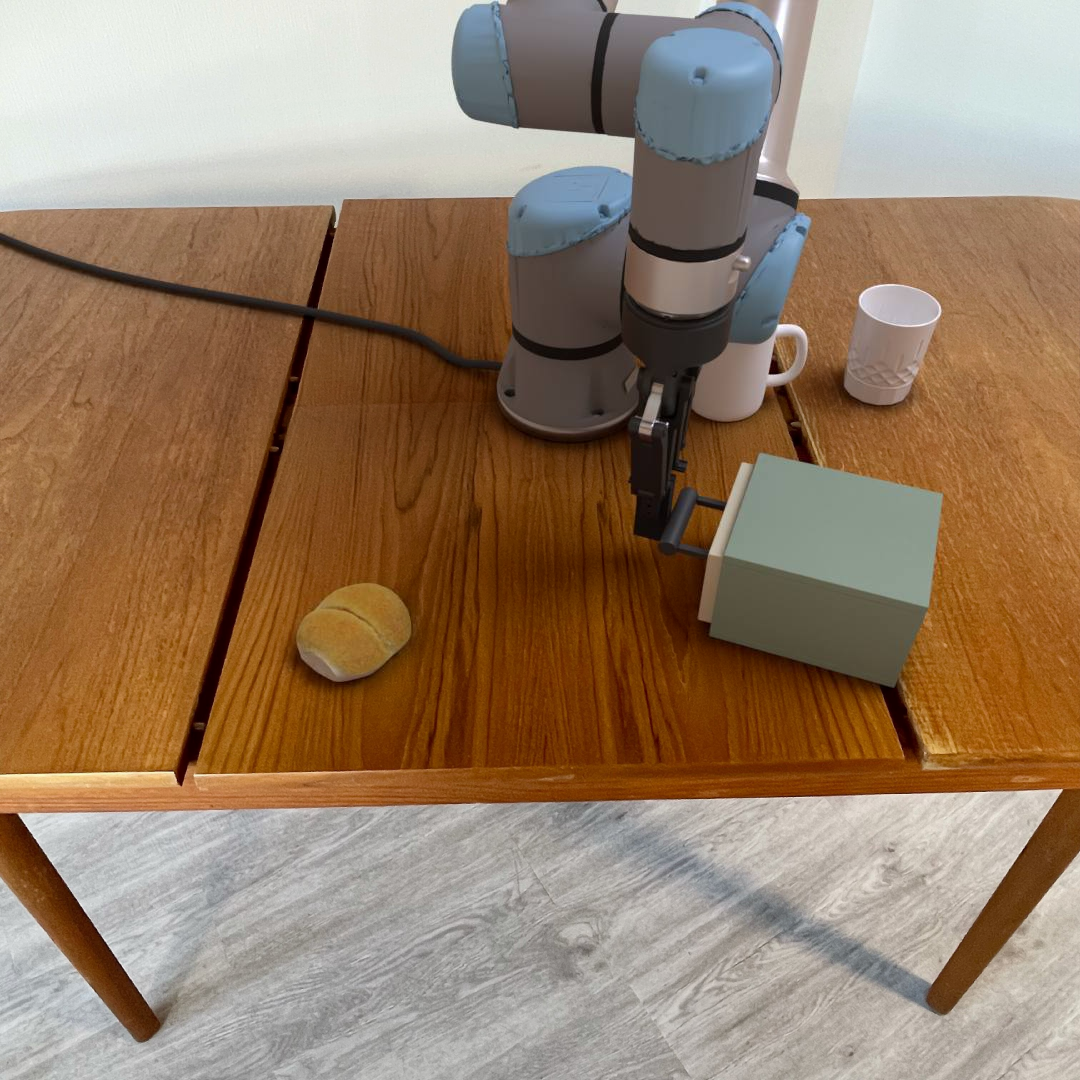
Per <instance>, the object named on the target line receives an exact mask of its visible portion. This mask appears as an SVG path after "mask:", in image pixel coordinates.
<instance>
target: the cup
mask: <svg viewBox="0 0 1080 1080" xmlns="http://www.w3.org/2000/svg"><path fill="white" fill-rule="evenodd" d="M781 338H794V339H795V340H794V341H795V342H796V353H795V357H794V360H793V363H792V365H791V366H790V368H789V369H788V370H786V371H784V372H783V373H778V374H769V372H770V368H771V363H772V357H773V352H774V348H775V347H774V346H775V342H776V339H781ZM808 343H809V342H808V336H807V334H806V332H805V330H804V329H802V328H801V327H800V326H799V325H796V324H792V323H791V324H790V323H785V324H778V325H777V328H776V330H775V332H774V334H773V335H772V336H771V337H770V338H769V339H768V340H767V341H765V342H763V343H761V344H756V345H750V344H740V343H729V342H728V344H727V346H726V348H725V350H724V351H723V352H722V354H721V355H719V356H718V357H717V358H716V359H714V360H713V361H711V362H709V363H707V364H704V365H702V369H701V372H700V374H699V376H698V379H697V382H696V389H695V395H694V397H693V402H692V407H691V411H693V412H695V414H697V415H699V416H701V417H703V418H705V419H708V420H711V421H716V422H726V423H728V422H731V423H732V422H737V421H741V420H745V419H748V418H750V417H751V416H753V415H754V414H755V413H757V412H758V410H759V409H760V407H762V404H763V401H764V398H765V393H766V389H767V388H775V387H781V386H785V385H786V384H789V383H791V382H792V381H794V380H795V379H797V377H798V376H799V375H800V374H801V372H802V370H803V369H804V367H805V364H806V361H807V357H808V350H809V344H808Z"/></svg>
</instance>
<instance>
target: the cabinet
mask: <svg viewBox="0 0 1080 1080" xmlns="http://www.w3.org/2000/svg"><path fill="white" fill-rule="evenodd" d="M754 465H755V466H754V469H753V472H752V474H751V477H750V480H749V483H748V486H747V489H746V492H745V495H744V498H743V500H742V503H741V506H740V509H739V512H738V515H737V518H736V521H735V523H734V526H733V529H732V532H731V535H730V538H729V541H728V544H727V547H726V549H725V552H724V555H723V562H722V566H721V572H720V577H719V583H718V588H717V594H716V599H715V605H714V610H713V616H712V622H711V623H710V628H709V633H708V636H709V637H711V638H716V639H719V640H722V641H726V642H730V643H732V644H736V645H740V646H744V647H747V648H750V649H754V650H757V651H761V652H764V653H768V654H772V655H776V656H779V657H782V658H786V659H790V660H792V661H793V660H794V661H796V662H800V663H804V664H808V665H811V666H814V667H818V668H821V669H825V670H829V671H832V672H836V673H840V674H843V675H847V676H850V677H854V678H857V679H861V680H864V681H868V682H871V683H875V684H878V685H882V686H886V687H889V688H895V686H896V684H897V683H898V682H897V681H898V680H899V677H900V675H901V672H902V670H903V667H904V666H905V663H906V661H907V659H908V656H909V654H910V652H911V649H912V647H913V645H914V643H915V640H916V638H917V636H918V633H919V631H920V629H921V627H922V624H923V622H924V620H925V617H926V614H927V612H928V611H929V608H930V601H931V592H932V585H933V577H934V569H935V561H936V555H937V547H938V546H937V545H938V538H939V532H940V531H939V529H940V521H941V514H942V507H943V498H944V494H943V493H942V492H937V491H933V490H928V489H923V488H920V487H916V486H910V485H906V484H903V483H897V482H893V481H888V480H884V479H880V478H875V477H870V476H866V475H862V474H858V473H852V472H848V471H844V470H839V469H835V468H830V467H826V466H821V465H817V464H813V463H808V462H804V461H798V460H795V459H790V458H786V457H783V456H782V457H781V456H777V455H772V454H769V453H764V452H758V454H757V457H756V459H755V464H754Z"/></svg>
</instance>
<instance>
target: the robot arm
mask: <svg viewBox="0 0 1080 1080" xmlns="http://www.w3.org/2000/svg"><path fill="white" fill-rule="evenodd" d="M618 3H619V0H506V3H505V4H503V3H499V1H498V0H493V1H492V2H489V3H473V4H472V5H471V6H469V7H467V8H465V9H464V10H463V11H462V12H461V14H460V16H459V18H458V19H457V23H456V26H455V29H454V33H453V39H452V46H451V56H450V57H451V60H450V63H451V64H450V66H451V67H450V68H451V69H450V70H451V79H452V80H451V81H452V86H453V90H454V94H455V97H456V98H455V99H456V101H457V104H458V106H459V108H460V109H461V112H463V113H464V114H465V115H466V116H467V117H468V118H470V119H471V120H474V121H478V122H483V123H487V124H493V125H499V126H505V127H511V128H513V129H516V130H520V129H529V130H541V131H543V130H544V131H554V132H555V131H556V132H568V133H579V134H580V133H581V134H593V135H605V136H608V137H618V138H627V139H628V138H629V139H634V145H633V146H634V147H633V148H634V149H633V163H632V175H631V174H629V173H628V172H626V171H624V172H622V170H620V169H619V168H616V167H611V166H604V165H582V166H573V167H568V168H567V167H566V168H562V169H558V170H555V171H552V172H549V173H546V174H544V175H542V176H539V177H537V178H535V179H532V180H531V181H530V182H528V183H526V184H525V185H524V186H523V187H521V188H520V189H519V190H518V191H517V192H516V194H515V195H514V196H513V198H512V199H511V202H510V204H509V207H508V211H507V236H506V237H507V238H506V242H505V248H506V249H505V250H506V252H507V259H508V262H507V264H508V278H509V299H510V300H509V301H510V319H511V337H510V339H509V342H508V346H507V348H506V352H505V354H504V357H503V361H496V360H488V359H487V360H486V359H471V358H465V357H463V356H460V355H457V354H455V353H453V352H452V351H450V350H448V349H447V348H445V347H444V346H443V345H441V344H440V343H439V342H437V341H435V340H434V339H433V338H431V337H429V336H427V335H425V334H423V333H421V332H419V331H416V330H414V329H411V328H407V327H404V326H401V325H398V324H397V325H396V324H392V323H388V322H383V321H378V320H373V319H368V318H363V317H358V316H355V315H354V316H353V315H350V314H345V313H341V312H335V311H331V310H325V309H320V308H314V307H309V306H304V305H299V304H293V303H286V302H282V301H277V300H271V299H266V298H265V299H264V298H259V297H254V296H247V295H242V294H235V293H230V292H225V291H218V290H213V289H208V288H201V287H196V286H195V287H194V286H190V285H185V284H180V283H174V282H169V281H164V280H159V279H154V278H150V277H144V276H139V275H135V274H131V273H126V272H123V271H118V270H113V269H110V268H105V267H102V266H98V265H94V264H91V263H87V262H84V261H80V260H77V259H74V258H70V257H67V256H63V255H61V254H58V253H54V252H52V251H49V250H47V249H43V248H40V247H37V246H34V245H33V244H30V243H27V242H24V241H22V240H19V239H18V238H17V239H16V238H15V237H11V236H9V235H7V234H5V233H2V232H0V242H2V243H5V244H8V245H9V246H12V247H15V248H16V249H19V250H22V251H24V252H27V253H29V254H32V255H35V256H38V257H39V258H43V259H46V260H48V261H52V262H55V263H57V264H62V265H64V266H67V267H71V268H74V269H77V270H80V271H84V272H87V273H90V274H95V275H97V276H101V277H106V278H110V279H114V280H119V281H123V282H127V283H130V284H131V283H132V284H135V285H139V286H145V287H149V288H152V289H153V288H154V289H159V290H164V291H169V292H174V293H180V294H185V295H190V296H195V297H201V298H206V299H207V298H208V299H212V300H217V301H224V302H229V303H235V304H242V305H246V306H252V307H259V308H263V309H268V310H269V309H270V310H275V311H281V312H286V313H292V314H297V315H303V316H308V317H312V318H318V319H322V320H323V319H324V320H328V321H333V322H337V323H344V324H347V325H352V326H355V327H360V328H366V329H370V330H375V331H380V332H385V333H390V334H393V335H398V336H401V337H404V338H408V339H410V340H413V341H415V342H418V343H420V344H421V345H423V346H424V347H427V348H428V349H430V350H432V351H433V352H434V353H435V354H437V355H438V356H440V358H442V359H444V360H445V361H448V362H449V363H450V364H454V365H456V366H459V367H461V368H465V369H470V370H471V369H472V370H473V369H474V370H489V371H494V372H495V371H497V372H499V373H498V374H499V375H498V377H497V381H496V391H497V404H498V407H499V411H500V412H501V414H502V415H503V417H504V418H505V419H506V420H507V421H508V422H509V424H511V425H512V426H513V427H515V428H516V429H518V430H520V432H523V433H525V434H527V435H529V436H533V437H536V438H539V439H542V440H548V441H553V442H562V443H563V442H564V443H576V442H577V443H578V442H586V441H592V440H596V439H600V438H604V437H606V436H609V435H612V434H615V433H616V432H618V431H620V430H622V429H623V428H625V427H626V426H627V434H628V436H629V439H630V475H629V477H628V480H627V484H630V494H631V495H633V496H636V502H635V510H634V511H635V512H634V523H633V531H632V535H634V536H637V537H641V538H645V539H648V540H652V541H655V542H659V541H660V539H661V536H662V534H663V532H664V529H665V527H666V525H667V522H668V520H669V517H670V515H671V513H672V510H673V502H674V495H675V487H676V480H677V474H676V473H673V472H672V471H674V472H679V473H682V474H685V473H686V470H687V467H688V463H689V460H684V459H680V455H681V452H683V450H684V449H685V447H686V445H687V441H686V438H687V433H688V430H689V429H688V428H689V423H690V418H691V412H692V409H691V407H692V402H693V397H694V395H695V389H696V382H697V379H698V376H699V374H700V372H701V369H702V365H704V364H707V363H709V362H711V361H713V360H714V359H716V358H717V357H718V356H719V355H721V354H722V352H723V351H724V350H725V348H726V346H727V344H728V342H729V343H740V344H750V345H756V344H761V343H763V342H765V341H767V340H768V339H769V338H770V337H771V336H772V335H773V334H774V332H775V330H776V328H777V325H779V322H780V320H781V316H782V313H783V311H784V308H785V304H786V302H787V299H788V296H789V292H790V289H791V287H792V283H793V281H794V278H795V274H796V272H797V268H798V266H799V263H800V260H801V256H802V252H803V249H804V246H805V243H806V240H807V238H808V234H809V230H810V228H811V225H812V220H811V217H809V216H808V215H805V213H804V212H797V209H798V205H799V199H800V191H799V189H798V187H797V186H796V184H795V183H794V182H793V180H792V179H791V177H790V176H789V174H788V171H787V170H788V169H787V168H788V164H789V158H790V153H791V149H792V142H793V137H794V133H795V127H796V123H797V121H796V120H797V118H798V117H797V116H798V111H799V106H800V101H801V95H802V90H803V85H804V79H805V73H806V68H807V63H808V60H809V59H808V58H809V52H810V48H811V43H812V38H813V37H812V36H813V31H814V28H815V27H814V26H815V21H816V17H817V11H818V5H819V0H716V2H715V5H713V6H709V7H708V8H707V9H705V10H703V11H701V12H700V13H699V14H697V15H695V16H694V18H693V17H691V18H690V17H679V16H678V17H677V16H667V15H665V16H664V15H650V14H635V13H621V12H615V11H616V9H617V6H618ZM637 359H638V360H640V362H641V363H642V364H643V365H640V366H639V364H638V362H637Z"/></svg>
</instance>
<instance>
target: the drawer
mask: <svg viewBox="0 0 1080 1080" xmlns="http://www.w3.org/2000/svg"><path fill="white" fill-rule="evenodd" d="M754 466H755V464H752V463H748V462H744V461H742V462H741V463H740V466H739V468H738V471H737V473H736V476H735V479H734V482H733V484H732V487H731V490H730V493H729V496H728V498H727V501H724V500H719V499H716V498H711V497H707V496H703V495H699V492H698V491H697V490H696V489H695V488H693V487H690V486H686V487H685V486H684V487H683V488H681V490H680V491H679V493H678V496H677V499H676V501H675V503H674V505H673V507H672V509H671V515H670V517H669V520H668V522H667V525H666V527H665V529H664V532H663V534H662V536H661V539H660V541H658V543H657V550H658V551H659V553H660V554H662V555H663V556H667V557H673V556H675V555H676V554H677V553H678V554H683V555H686V556H689V557H693V558H697V559H701V560H704V561H705V560H706V566H705V573H704V577H703V584H702V589H701V590H702V591H701V597H700V602H699V608H698V615H697V620H698V621H702V622H706V623H708V624H711V622H712V616H713V610H714V605H715V599H716V594H717V588H718V583H719V577H720V572H721V566H722V562H723V555H724V552H725V549H726V547H727V544H728V541H729V538H730V535H731V532H732V529H733V526H734V523H735V521H736V518H737V515H738V512H739V509H740V506H741V503H742V500H743V498H744V495H745V492H746V489H747V486H748V483H749V480H750V477H751V474H752V472H753V469H754ZM696 506H701V507H704V508H709V509H713V510H717V511H720V512H723V513H722V515H721V518H720V520H719V523H718V526H717V529H716V531H715V534H714V538H713V540H712V543H711V546H710V548H709V549H705V548H701V547H698V546H694V545H690V544H686V543H682V539H683V537H684V535H685V533H686V530H687V527H688V525H689V522H690V520H691V517H692V515H693V512H694V509H695V507H696Z"/></svg>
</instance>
